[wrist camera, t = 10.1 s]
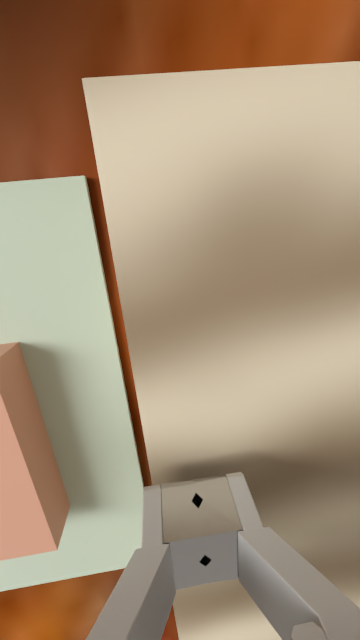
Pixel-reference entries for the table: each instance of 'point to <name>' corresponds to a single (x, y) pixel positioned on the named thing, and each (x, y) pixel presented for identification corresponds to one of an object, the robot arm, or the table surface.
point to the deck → (243, 299)
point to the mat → (70, 375)
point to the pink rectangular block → (26, 467)
